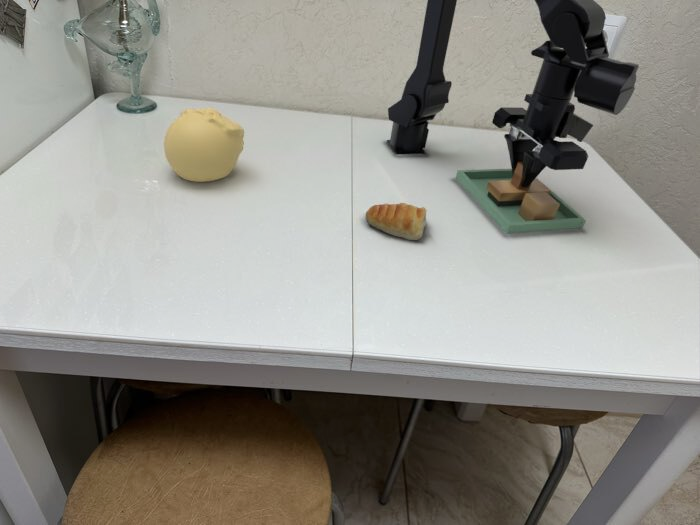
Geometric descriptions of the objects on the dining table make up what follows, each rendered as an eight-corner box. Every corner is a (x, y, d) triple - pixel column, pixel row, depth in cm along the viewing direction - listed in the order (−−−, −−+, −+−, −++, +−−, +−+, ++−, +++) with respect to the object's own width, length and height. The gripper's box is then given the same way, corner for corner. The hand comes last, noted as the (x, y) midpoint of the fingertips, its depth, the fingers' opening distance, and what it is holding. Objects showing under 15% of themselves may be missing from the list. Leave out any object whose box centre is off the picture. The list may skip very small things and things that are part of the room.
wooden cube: (530, 226, 80) (539, 205, 78) (517, 213, 83) (525, 192, 81) (551, 225, 81) (560, 204, 79) (537, 212, 84) (546, 191, 82)
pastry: (361, 231, 74) (364, 209, 72) (368, 209, 80) (372, 189, 78) (422, 244, 73) (427, 222, 71) (425, 221, 79) (430, 200, 77)
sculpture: (254, 171, 86) (253, 110, 79) (206, 197, 77) (201, 132, 71) (204, 151, 90) (199, 92, 83) (153, 174, 81) (143, 110, 75)
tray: (505, 236, 78) (509, 225, 77) (454, 180, 92) (457, 170, 91) (581, 230, 82) (586, 219, 81) (521, 177, 96) (525, 168, 95)
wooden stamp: (496, 207, 84) (508, 171, 80) (484, 194, 87) (495, 159, 83) (545, 204, 87) (559, 169, 83) (532, 192, 90) (545, 158, 86)
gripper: (636, 116, 71) (593, 208, 80) (560, 75, 85) (530, 158, 94) (573, 116, 68) (535, 212, 77) (504, 73, 82) (479, 159, 91)
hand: (520, 183), depth 85 cm, fingers closed on wooden stamp, 2 cm apart
